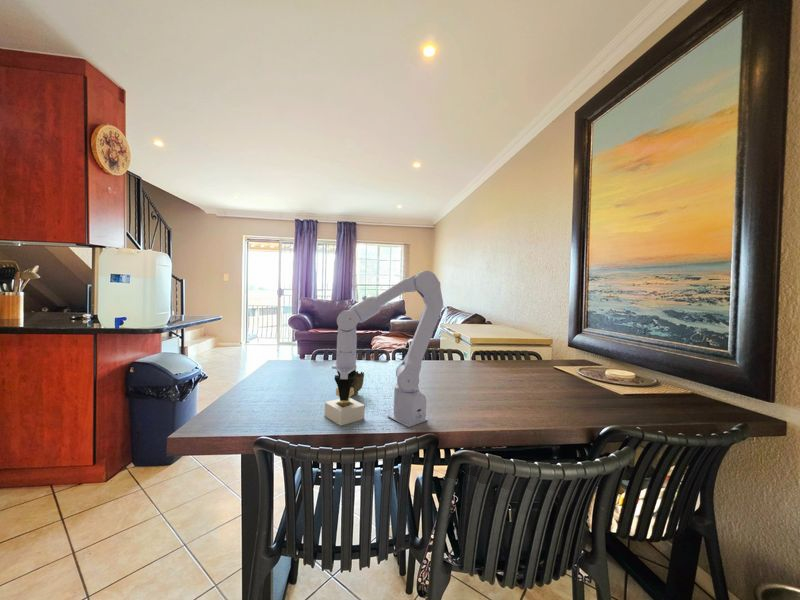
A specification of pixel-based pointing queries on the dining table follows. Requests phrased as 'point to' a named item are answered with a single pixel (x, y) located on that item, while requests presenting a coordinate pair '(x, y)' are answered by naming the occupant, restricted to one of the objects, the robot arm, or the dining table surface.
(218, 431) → the dining table surface
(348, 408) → the block
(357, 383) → the cup
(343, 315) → the robot arm
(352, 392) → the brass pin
